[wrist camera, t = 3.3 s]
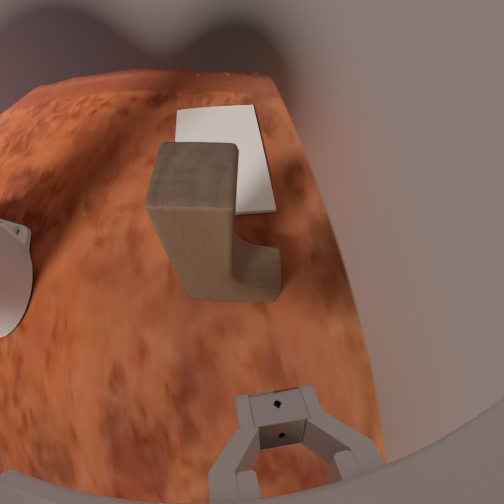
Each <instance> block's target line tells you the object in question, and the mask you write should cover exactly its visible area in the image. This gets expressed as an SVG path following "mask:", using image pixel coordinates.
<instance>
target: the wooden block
mask: <svg viewBox="0 0 504 504" xmlns="http://www.w3.org/2000/svg"><path fill="white" fill-rule="evenodd" d="M238 159H239V149H238V148H237V145H236V144H234V143H220V142H165V143H162V144H161V146H160V148H159V152H158V155H157V159H156V162H155V166H154V169H153V173H152V177H151V181H150V185H149V189H148V193H147V197H146V201H145V207H146V210H147V212H148V214H149V217H150V219H151V221H152V223H153V225H154V228H155V230H156V232H157V234H158V236H159V238H160V240H161V242H162V245H163V247H164V249H165V251H166V253H167V255H168V257H169V259H170V261H171V263H172V265H173V267H174V269H175V271H176V273H177V275H178V277H179V279H180V281H181V283H182V285H183V287H184V289H185V291H186V293H187V294H188V296H189V298H191V299H197V300H216V301H238V302H268V303H272V302H274V301H275V300H276V298H277V297H278V295H279V293H280V292H281V289H282V283H281V251H280V248H276V247H268V246H260V245H253V244H251V243H249V242H247V241H245V240H243V239H241V238H239V237H238V235H237V233H236V231H235V214H236V195H237V176H238Z"/></svg>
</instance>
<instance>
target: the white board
mask: <svg viewBox="0 0 504 504" xmlns="http://www.w3.org/2000/svg"><path fill="white" fill-rule="evenodd" d="M175 142H220V143H234V144H236V145H237V148H238V149H239V159H238V176H237V195H236V214H235V215H242V214H255V213H268V212H276V205H275V201H274V196H273V191H272V186H271V182H270V177H269V172H268V168H267V163H266V159H265V154H264V150H263V145H262V141H261V136H260V132H259V128H258V123H257V119H256V115H255V111H254V106H253V105H236V106H217V107H204V108H192V109H182V110H177V121H176V138H175Z"/></svg>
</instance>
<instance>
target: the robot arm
mask: <svg viewBox="0 0 504 504" xmlns="http://www.w3.org/2000/svg"><path fill="white" fill-rule="evenodd" d="M30 240H31V230H30V229H29V228H27V227H26V226H23V225H20V224H16V223H13V222H9V221H6V220H3V219H0V338H1V337H4V336H6V335H7V334H9V333H10V332H11V331H12V330H13V329H14V328H15V327H16V326H17V325H18V323H19V322H20V320H21V318H22V316H23V314H24V312H25V310H26V307H27V305H28V301H29V298H30V294H31V288H32V279H33V270H32V262H31V257H30V252H29V247H30ZM235 404H236V411H237V418H238V425H239V430H235V432H234V433H233V435H232V437H231V438H230V440H229V441H228V443H227V445H226V446H225V448H224V449H223V451H222V452H221V454H220V456H219V457H218V459H217V460H216V462H215V463H214V465H213V466H212V468H211V469H210V471H209V472H208V480H209V494H210V503H160V502H146V501H136V500H128V499H120V498H114V497H108V496H102V495H97V494H92V493H87V492H83V491H78V490H74V489H70V488H66V487H63V486H59V485H56V484H52V483H49V482H46V481H43V480H40V479H37V478H34V477H31V476H28V475H26V474H23V473H21V472H18V471H15V470H8V471H6V472H4V473H2V474H0V504H504V396H503V397H502V398H501V399H500V400H498V401H497V402H496V403H495V404H493V405H492V406H490V407H489V408H488V409H486V410H485V411H484V412H482V413H481V414H479V415H478V416H476V417H475V418H473V419H472V420H470V421H469V422H467V423H465V424H464V425H462V426H461V427H459V428H457V429H456V430H454V431H453V432H451V433H449V434H447V435H446V436H444V437H442V438H440V439H439V440H437V441H435V442H433V443H431V444H429V445H427V446H425V447H424V448H422V449H419V450H417V451H416V452H413V453H411V454H409V455H407V456H405V457H403V458H401V459H398V460H396V461H394V462H391V463H389V464H386V465H385V464H384V462H383V460H382V458H381V456H380V454H379V452H378V450H377V448H376V446H375V444H374V442H373V440H371V439H369V438H367V437H366V436H364V435H362V434H360V433H359V432H357V431H355V430H354V429H352V428H350V427H349V426H347V425H345V424H344V423H342V422H340V421H339V420H337V419H335V418H334V417H332V416H330V415H329V414H325V415H324V413H323V410H322V408H321V406H320V403H319V401H318V399H317V396H316V394H315V391H314V389H313V387H312V386H311V385H306V386H300V387H294V388H289V389H283V390H278V391H273V392H267V393H259V394H250V395H241V396H235ZM298 443H302V444H304V445H305V446H306V447H307V448H308V449H310V450H311V451H312V452H313V453H314V454H316V455H317V456H318V457H319V458H321V459H322V460H323V461H324V462H326V463H327V464H328V465H329V466H330V467H329V469H328V472H327V474H326V476H325V478H324V482H325V485H324V486H321V487H317V488H313V489H309V490H304V491H300V492H295V493H290V494H285V495H279V496H274V497H267V498H261V494H260V489H259V485H258V480H257V475H256V472H254V471H252V468H253V466H254V464H255V462H256V459H257V457H258V455H259V453H260V450H264V449H270V448H275V447H280V446H286V445H292V444H298Z"/></svg>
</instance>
